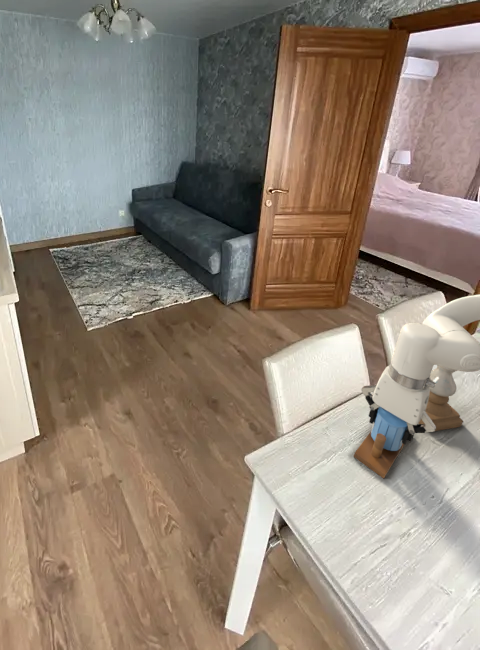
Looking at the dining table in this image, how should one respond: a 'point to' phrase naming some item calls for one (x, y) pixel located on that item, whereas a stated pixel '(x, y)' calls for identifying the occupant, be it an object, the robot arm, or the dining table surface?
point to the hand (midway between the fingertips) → (388, 429)
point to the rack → (376, 454)
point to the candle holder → (442, 400)
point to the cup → (389, 429)
